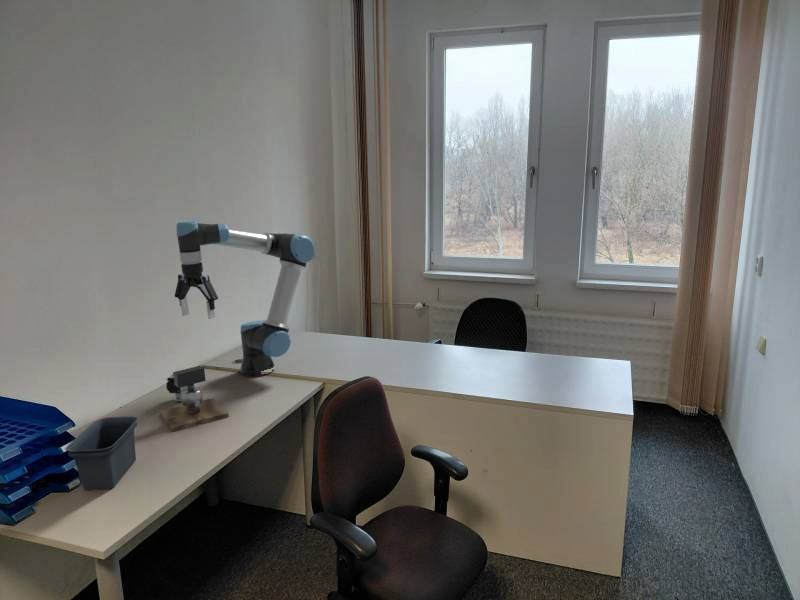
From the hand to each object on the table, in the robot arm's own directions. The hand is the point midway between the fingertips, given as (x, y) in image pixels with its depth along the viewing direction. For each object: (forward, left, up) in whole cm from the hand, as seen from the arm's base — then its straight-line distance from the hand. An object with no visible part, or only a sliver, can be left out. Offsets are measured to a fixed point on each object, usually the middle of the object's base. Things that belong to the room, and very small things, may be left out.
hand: (198, 316), depth 216 cm
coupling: (+9, +13, -29) cm, 33 cm away
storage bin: (+42, +41, -34) cm, 68 cm away
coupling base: (+9, +13, -34) cm, 38 cm away
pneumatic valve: (+9, -6, -34) cm, 36 cm away
